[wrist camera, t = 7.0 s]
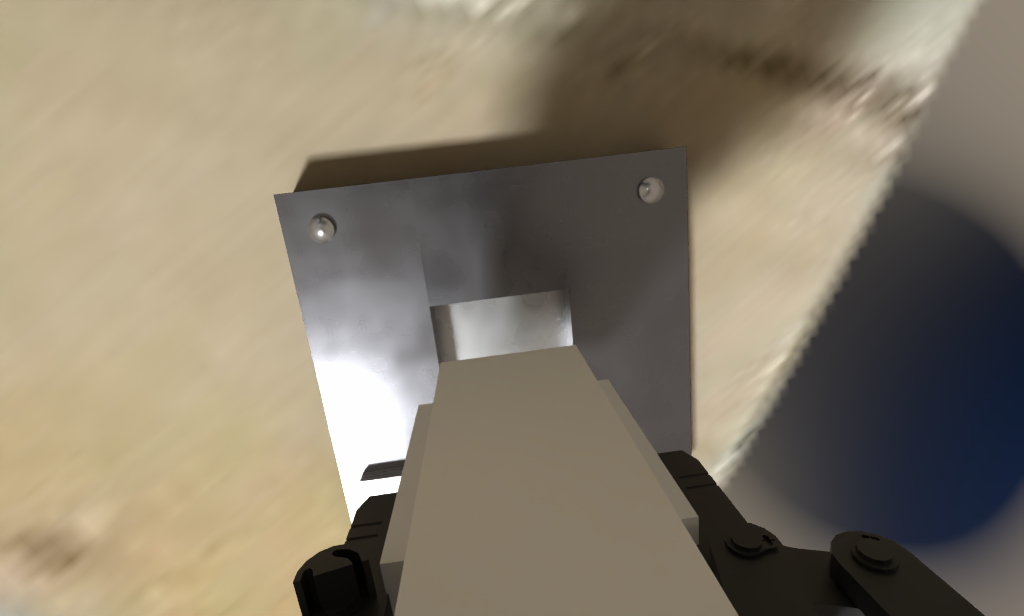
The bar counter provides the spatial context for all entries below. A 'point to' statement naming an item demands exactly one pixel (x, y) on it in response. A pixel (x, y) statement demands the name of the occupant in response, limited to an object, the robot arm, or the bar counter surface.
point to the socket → (491, 291)
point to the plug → (543, 503)
